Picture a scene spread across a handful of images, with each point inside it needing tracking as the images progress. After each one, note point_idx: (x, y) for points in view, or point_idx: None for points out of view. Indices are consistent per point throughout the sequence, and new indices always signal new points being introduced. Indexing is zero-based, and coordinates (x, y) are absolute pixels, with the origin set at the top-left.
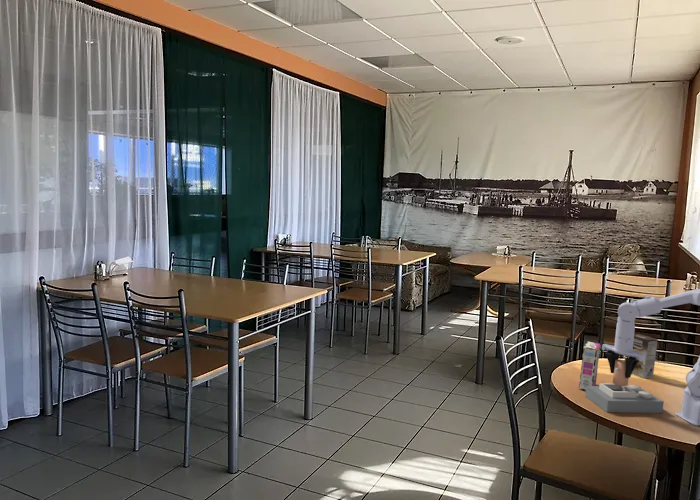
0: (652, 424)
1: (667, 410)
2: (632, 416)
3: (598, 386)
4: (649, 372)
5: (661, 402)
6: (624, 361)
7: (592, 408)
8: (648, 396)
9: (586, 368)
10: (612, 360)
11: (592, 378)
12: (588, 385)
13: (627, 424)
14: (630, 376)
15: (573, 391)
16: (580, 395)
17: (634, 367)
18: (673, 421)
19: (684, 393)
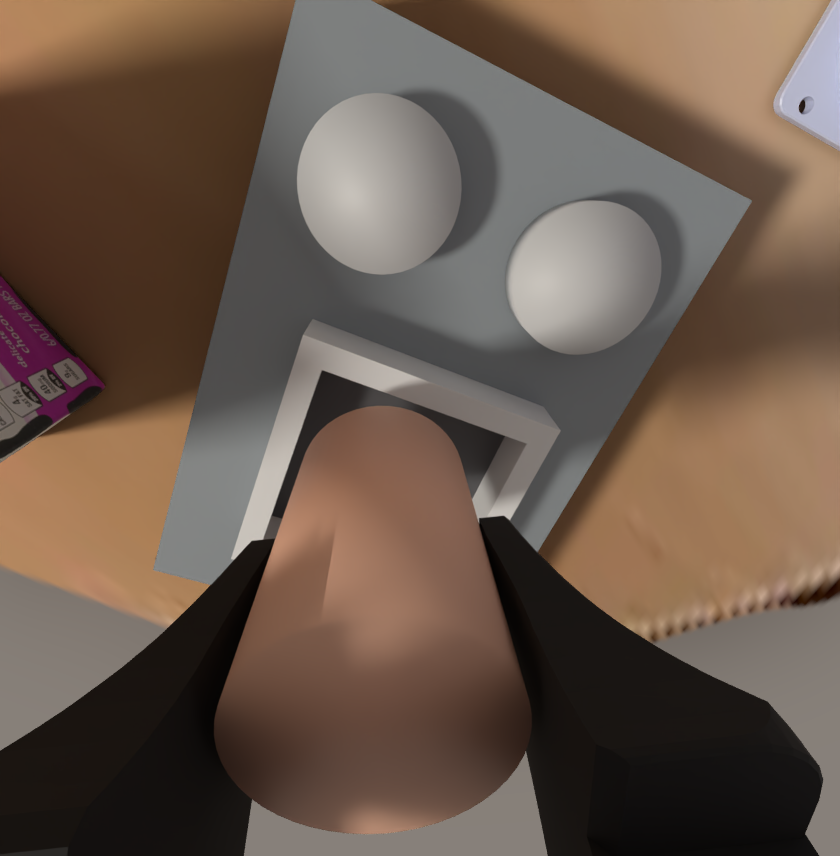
0: (724, 488)
1: (686, 72)
2: (585, 498)
3: (189, 482)
4: None
5: (730, 226)
6: (384, 705)
7: None
8: (638, 318)
9: None
10: (239, 823)
11: (19, 446)
12: (51, 427)
13: (632, 615)
14: (511, 525)
15: (70, 511)
16: (161, 525)
17: (600, 614)
18: (806, 293)
19: None
